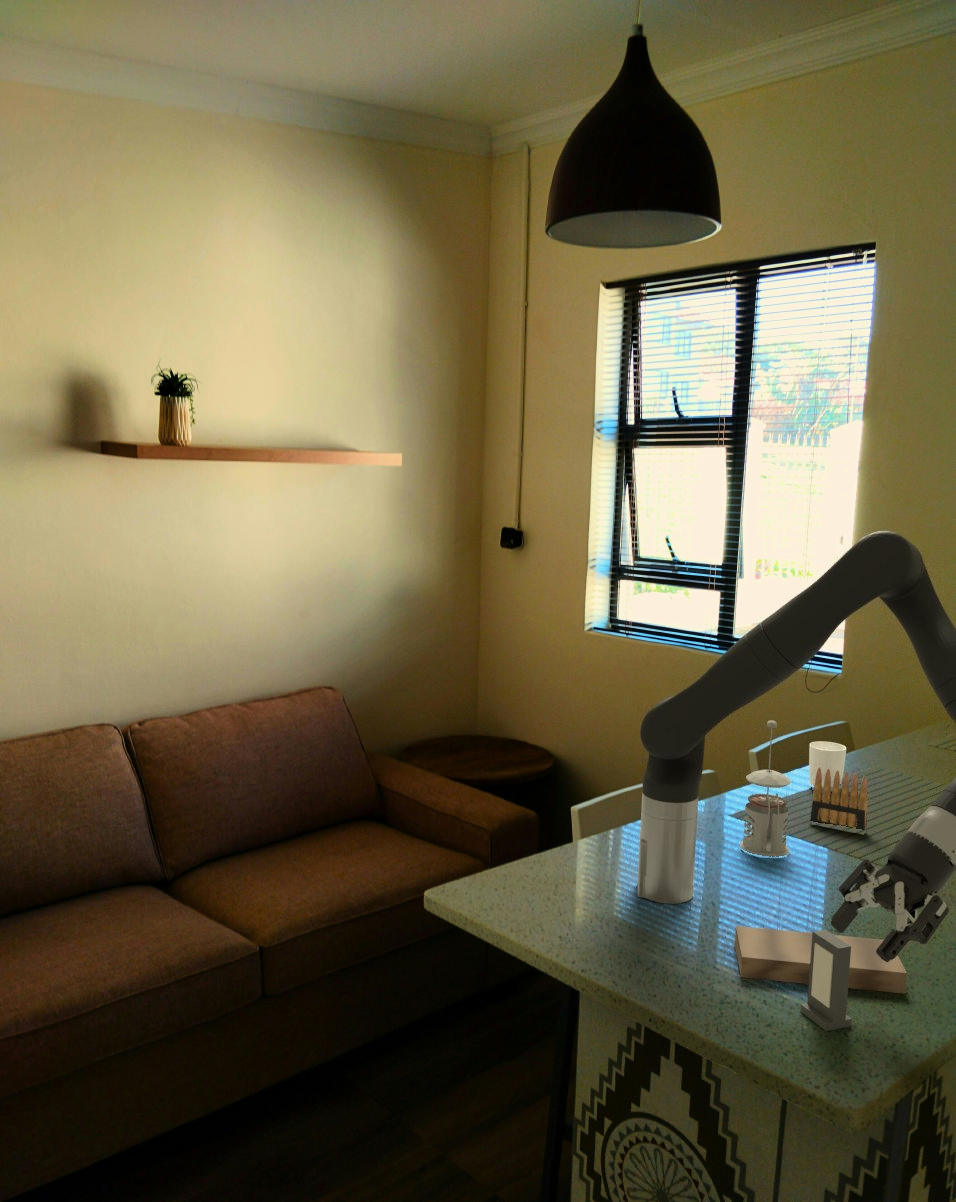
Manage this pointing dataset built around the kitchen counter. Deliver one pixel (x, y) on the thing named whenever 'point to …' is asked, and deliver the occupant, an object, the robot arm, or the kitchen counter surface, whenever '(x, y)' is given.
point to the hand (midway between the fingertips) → (857, 943)
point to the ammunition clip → (839, 801)
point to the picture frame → (828, 982)
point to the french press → (766, 813)
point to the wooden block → (791, 957)
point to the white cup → (826, 760)
